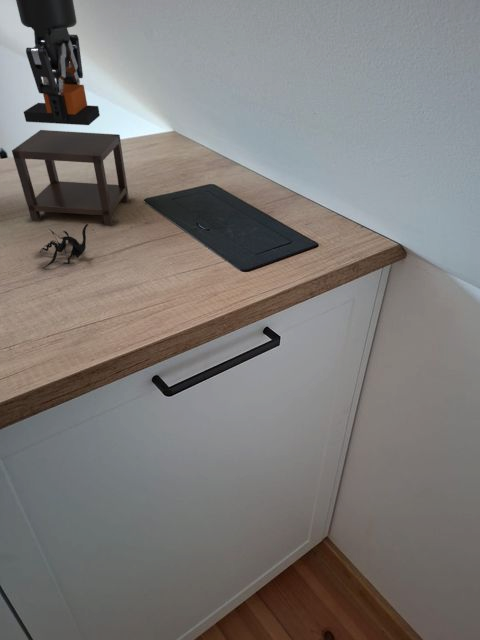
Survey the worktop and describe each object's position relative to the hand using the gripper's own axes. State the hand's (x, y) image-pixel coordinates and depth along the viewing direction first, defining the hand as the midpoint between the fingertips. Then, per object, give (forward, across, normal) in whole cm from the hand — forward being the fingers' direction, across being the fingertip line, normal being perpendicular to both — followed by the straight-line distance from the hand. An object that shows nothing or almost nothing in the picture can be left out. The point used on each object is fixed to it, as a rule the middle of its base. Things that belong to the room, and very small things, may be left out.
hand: (68, 115), depth 78 cm
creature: (+16, +17, +2) cm, 24 cm away
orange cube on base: (0, 0, -1) cm, 1 cm away
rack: (+16, 0, -1) cm, 16 cm away
